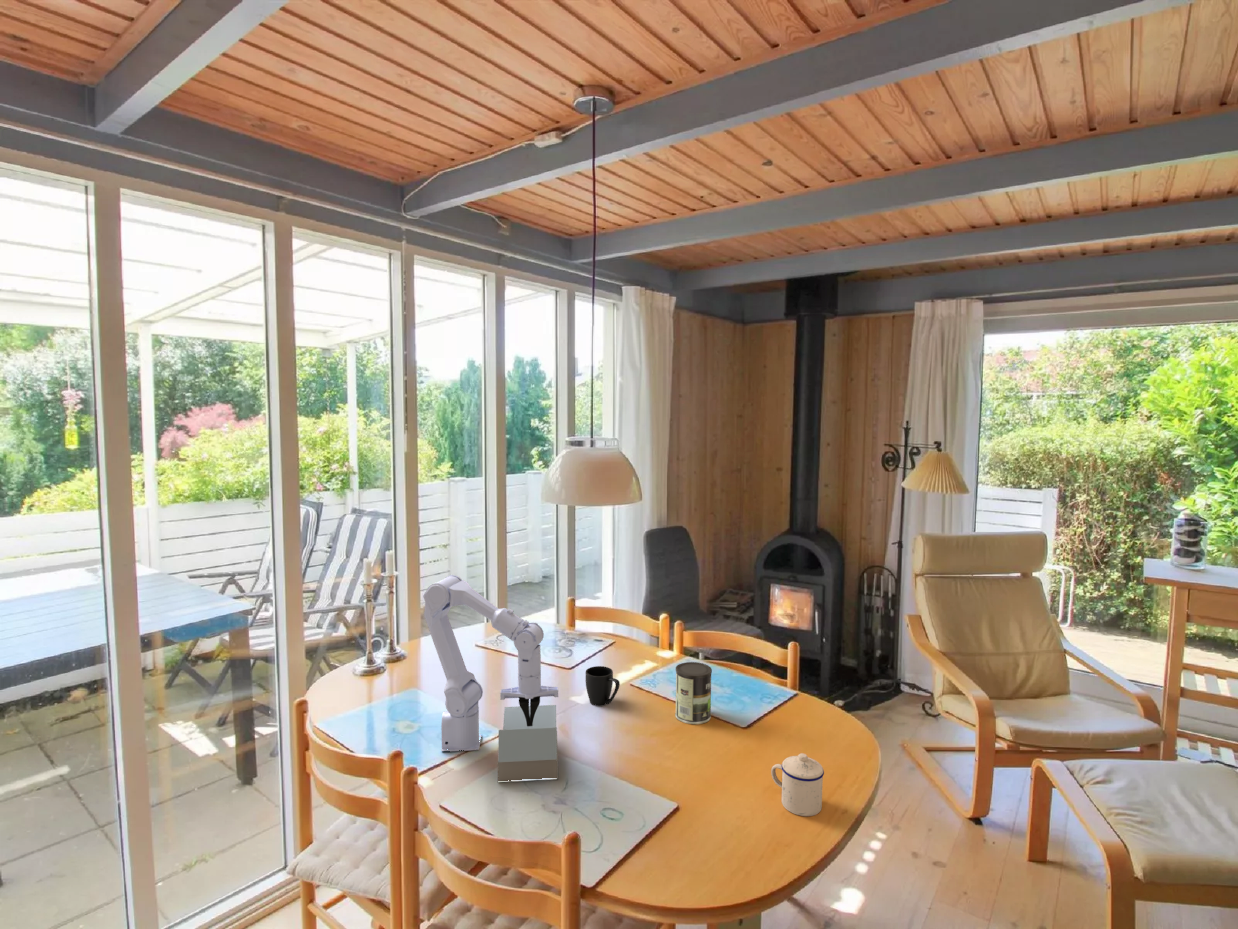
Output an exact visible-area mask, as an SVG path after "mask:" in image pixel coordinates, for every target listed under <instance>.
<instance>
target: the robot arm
mask: <svg viewBox="0 0 1238 929" xmlns="http://www.w3.org/2000/svg"><path fill="white" fill-rule="evenodd" d="M423 599H424V612H423V615H424V616H423V617H424V620H425V623H426V624H427V628H428V631H429V633H430V634H429V635H430V637H431V640H432V642H433V645H434V648H435V650H436V654H437V655H438V659H439V661H440V664H441V665H440V666H441V667H442V670H443V674H444V675H445V678H446V683H445V686H444V691H443V692H444V696H445V708H446V710H445V711H443V712H442V714H441V715H442V716H441V726H440V727H441V728H440V730H441V749H440V750H441V751H440V752H442V751H450V752H466V751H467V752H469V751H471V752H472V751H478V750H480V747H481V742H482V738H481V739H480V740H479V737H483V735H482V736H481V735H480V736H479V734H480V722H479V721H480V720H479V719H480V716H479V714H480V713H479V712H480V709H479V708H480V707H479V701H481V699H482V697H483V693H484V690H483V687H482V685H481V684H480V683H479V681H478V680H477V679H476V677H475V674H474V673H473V672H470V671H469V670H468V669H467V666H466V663H465V660H464V659H463V658H464V657H463V655H462V653H461V650H460V647H459V645H458V642H457V639H456V636H455V633H454V630H453V628H452V625H451V622H450V619H449V616H448V614H449V612H450V610H451V609H452V607H455V606H456V607H457V606H466V607H467V608H469V609H470V610H473V611H474V612H476V613H477V614H479V615H481V616H482V617H484V618H487V620H489V621H490V622H491V626H492V628H493V629H494V630H496V631H498V632H499V633H500V634H502V635H504V637H506V638H507V639H509V640H511V641H512V642H513V645H514V647H515V649H516V650H517V678H518V680H517V686H514V687H510V688H502V689H500V693H499V694H500V697H499V698H500V700H501V701H504V700H505V699H518V705H519V706H520V707H521V709H522V711H523V713H524V715H525V718H526V722H527V726H533V719H534V715H535V713H536V710H537V708H538V706H540V703H541V698H543V697H547V698H548V697H554V698H559V686H548V685H542V681H541V680H542V679H541V678H542V677H541V676H542V674H541V672H542V668H541V667H542V664H541V662H542V660H541V659H542V655H541V644H540V643H542V641H544V640H543V639H544V636H545V634H544V630H543V628H542V626H540V625H539V623H537V622H534V621H533V622H529V621H528V620H527V619H525V620H524V619H523V618H521V617H520V616H518V615H517V614H516V613H514V610H513V609H511V608H506V607H503V608H502V607H501V608H498V607H497V606H496V605H494V603H492V602H491V601H489V599H487V598H486V597H484V596H483V595H481V594H480V593H479V592H478V591H476V590H475V589H473V587H471V585H470V584H469V582H468V581H466V580H464V579H462V578H461V577H460V576H458V575H456V574H450V575H449V574H448V575H447V576H446V577H445V578H443V579H441V580H439V581H436V582H434V583H431V584H430V585H428V587H427V588H426V591H425V592H424V594H423ZM529 706H530V714H529ZM479 741H481V742H479ZM447 749H448V750H447ZM459 750H460V751H459ZM461 750H462V751H461ZM463 750H464V751H463Z"/></svg>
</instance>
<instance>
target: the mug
mask: <svg viewBox="0 0 1238 929" xmlns="http://www.w3.org/2000/svg"><path fill="white" fill-rule="evenodd" d="M614 683H615V688H614V690H613V692H612V689H613V684H614ZM620 684H621V683H620V680H619V679H617V678H614V670H613V669H612V668H611V667H608V666H602V665H597V666H596V665H595V666H591V667H588V668H587V669H586V670H585V687H586V693H587V697H588V701H589V703H590V704H591V705H592V706H595V707H602V706H606V705H609V704H611V703H612V702H613V700H614V698H615V697H616V695H617V693H618V691H619V688H620Z"/></svg>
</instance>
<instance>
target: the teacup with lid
mask: <svg viewBox="0 0 1238 929" xmlns="http://www.w3.org/2000/svg"><path fill="white" fill-rule="evenodd" d="M776 769H779V770H781V771H782V776H781V777H782V779H781V780H780V779H779V777H778V776H777V773H776ZM770 772H771V773H770V774H771V777H772V778H771V779H772V780H773V782H774V783H775V785H777V786H778V787H780V788H781V804H782V806H783V808H785V809H786V810H787V811H789V813H792V814H794V815H796V816H801V817H812V816H816V815H817V814H819V813H820V812H821V811H822V806H823V805H822V804H823V780H824V779H823V778H824V777H823V776H824V774H825V771H824V767H823V766H822V764H821V763H820V762H819V761H817V760H816V759H814V758H811V757H809V756H808V754H806V753H803V752H801V753H799V754H798V755H791V756H788V757H786V758H785V759H784V760H783V761H782V763H781V764H780V763H776V764H774V765H773V766H772V767H771V769H770Z"/></svg>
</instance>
